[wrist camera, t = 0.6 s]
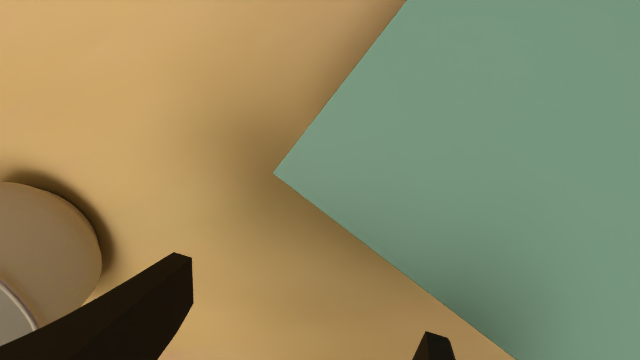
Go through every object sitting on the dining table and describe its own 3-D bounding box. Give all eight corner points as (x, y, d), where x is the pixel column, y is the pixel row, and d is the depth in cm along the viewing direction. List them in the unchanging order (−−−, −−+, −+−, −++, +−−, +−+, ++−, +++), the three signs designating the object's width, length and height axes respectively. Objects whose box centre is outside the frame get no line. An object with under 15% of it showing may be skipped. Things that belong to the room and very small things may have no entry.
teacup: (20, 132, 24) (-141, 194, 17) (151, 242, 26) (53, 337, 19) (-23, 235, 31) (-149, 307, 24) (83, 315, 33) (-7, 403, 26)
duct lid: (878, 234, 11) (920, 242, 11) (648, 456, 13) (670, 478, 12) (505, -127, 10) (522, -149, 9) (275, 169, 11) (272, 173, 10)
